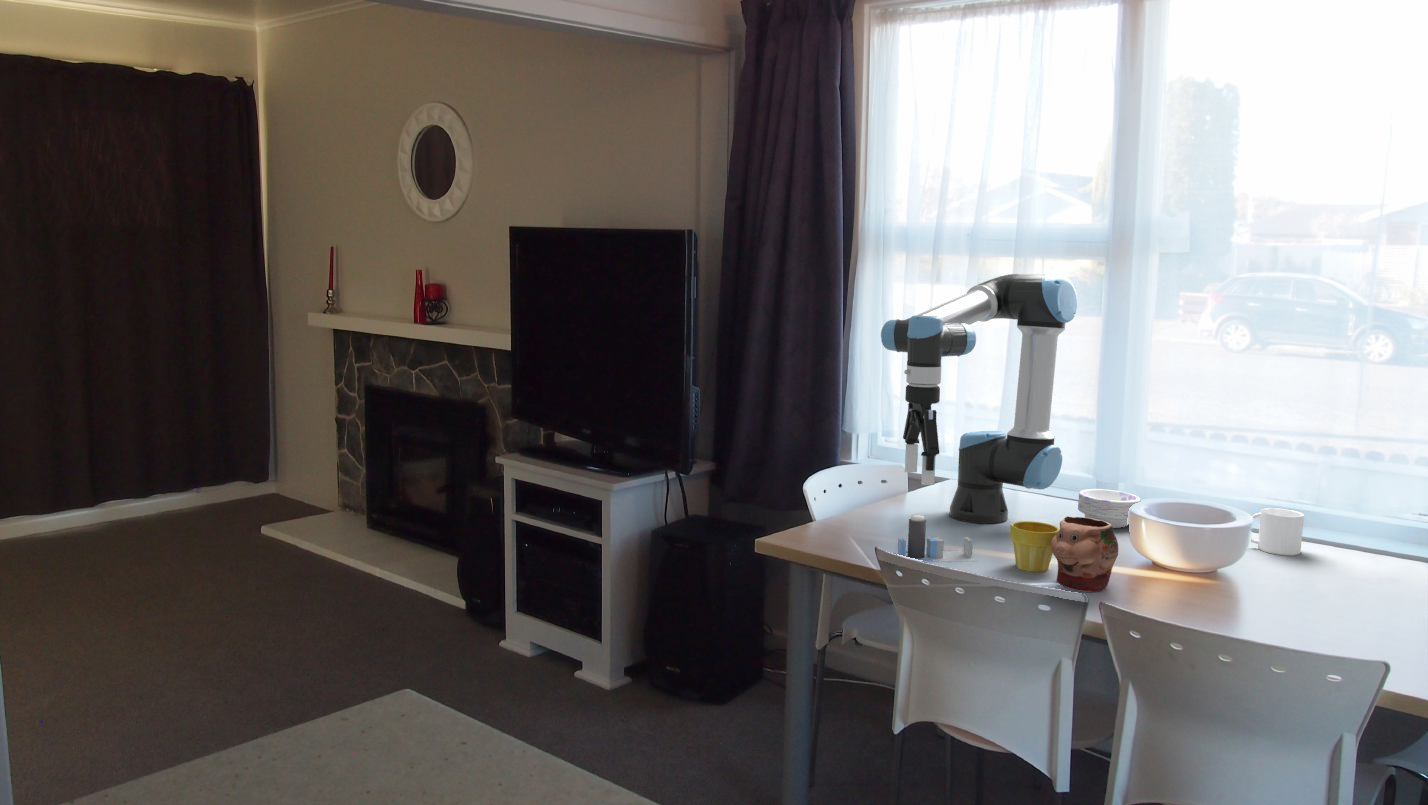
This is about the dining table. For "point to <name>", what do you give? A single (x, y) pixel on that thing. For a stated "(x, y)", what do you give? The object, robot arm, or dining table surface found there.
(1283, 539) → the mug
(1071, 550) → the decorative planter
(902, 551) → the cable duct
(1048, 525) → the plant pot
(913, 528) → the dark gray cylinder
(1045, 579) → the dining table surface
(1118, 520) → the paper bowls
